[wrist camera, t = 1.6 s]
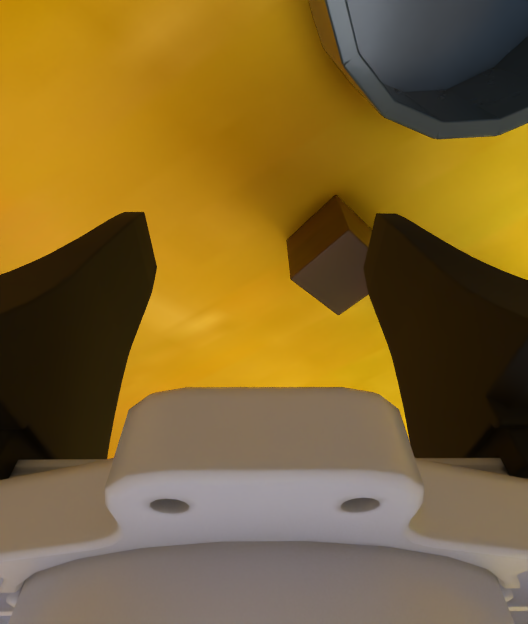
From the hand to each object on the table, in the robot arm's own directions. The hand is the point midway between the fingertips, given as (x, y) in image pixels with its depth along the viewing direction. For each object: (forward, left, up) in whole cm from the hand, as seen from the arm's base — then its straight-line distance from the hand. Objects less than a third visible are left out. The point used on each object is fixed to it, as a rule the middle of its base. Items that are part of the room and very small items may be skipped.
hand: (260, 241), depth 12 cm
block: (-7, +1, -9) cm, 11 cm away
